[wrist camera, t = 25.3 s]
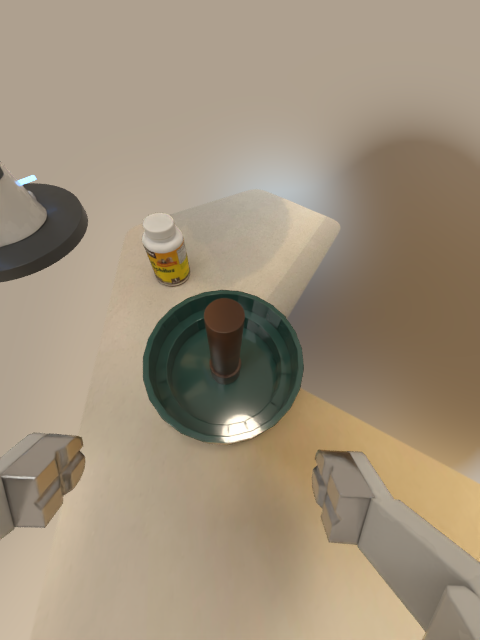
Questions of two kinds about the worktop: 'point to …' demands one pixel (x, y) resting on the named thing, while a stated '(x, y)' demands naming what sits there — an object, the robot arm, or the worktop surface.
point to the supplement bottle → (165, 249)
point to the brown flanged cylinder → (224, 338)
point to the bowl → (196, 379)
